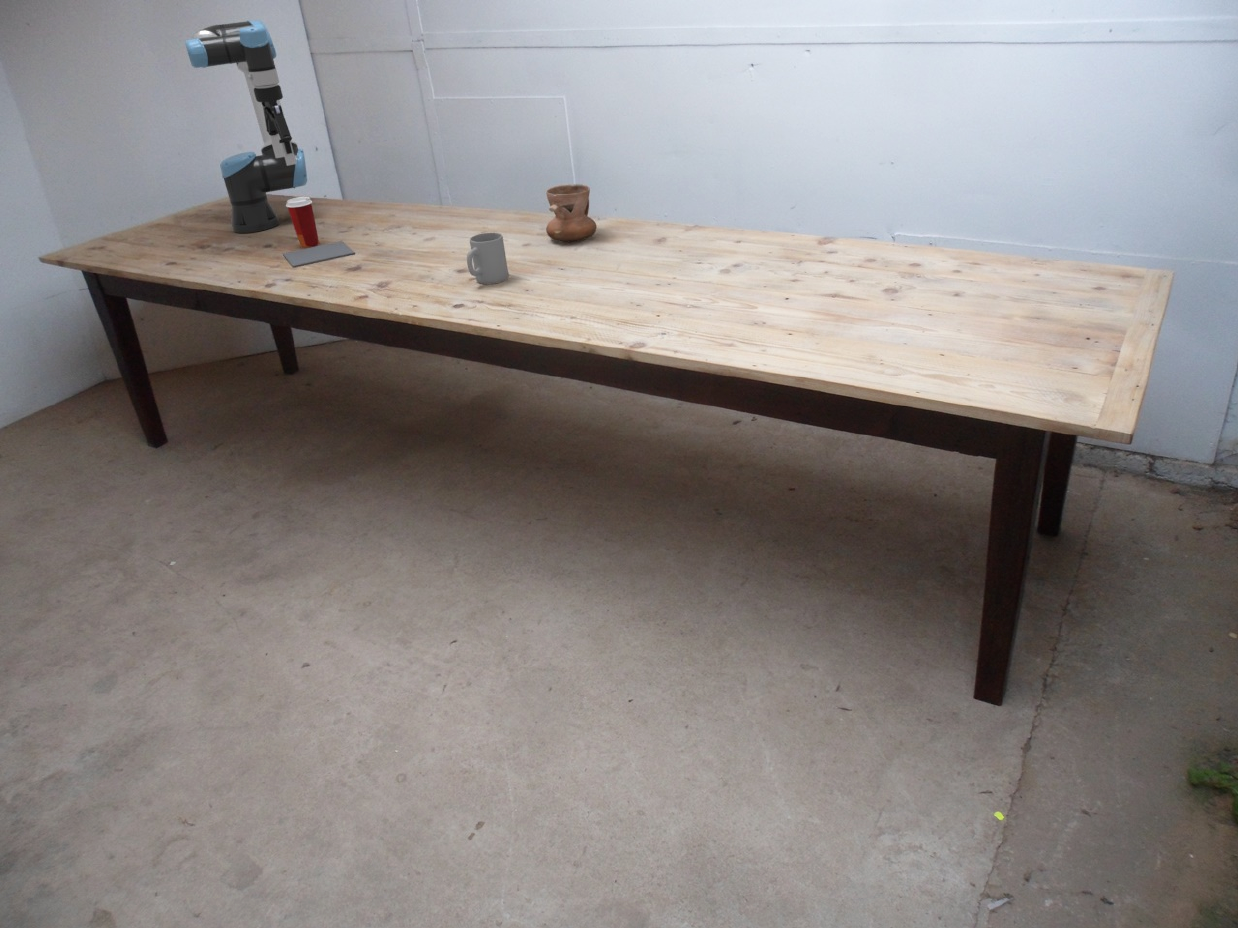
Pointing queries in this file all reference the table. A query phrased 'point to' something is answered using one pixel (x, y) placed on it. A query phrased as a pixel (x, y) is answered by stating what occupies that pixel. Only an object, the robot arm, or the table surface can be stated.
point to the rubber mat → (318, 254)
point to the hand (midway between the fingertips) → (285, 161)
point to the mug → (487, 258)
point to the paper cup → (303, 221)
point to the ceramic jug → (570, 213)
